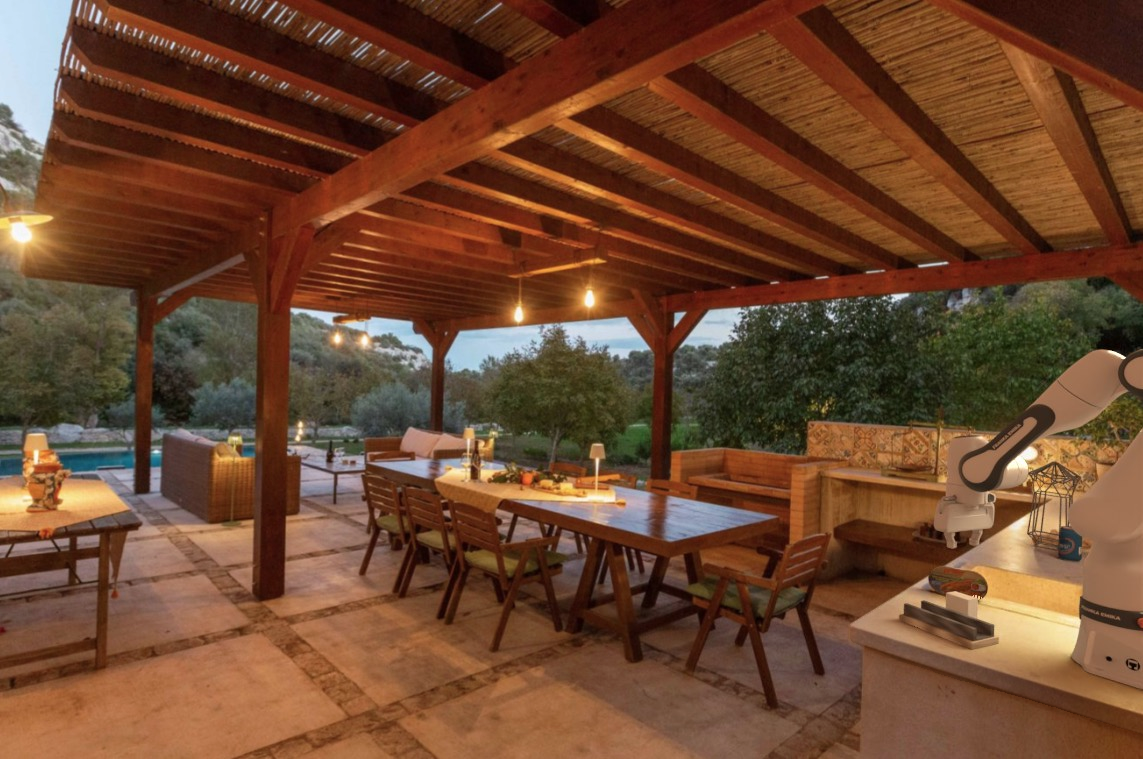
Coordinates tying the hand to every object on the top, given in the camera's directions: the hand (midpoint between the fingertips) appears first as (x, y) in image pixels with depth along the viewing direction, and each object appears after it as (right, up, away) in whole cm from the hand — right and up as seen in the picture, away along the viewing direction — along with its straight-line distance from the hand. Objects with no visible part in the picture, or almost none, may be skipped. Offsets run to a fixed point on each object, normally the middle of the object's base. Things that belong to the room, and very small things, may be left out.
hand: (962, 546), depth 166 cm
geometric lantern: (+90, -24, +85) cm, 126 cm away
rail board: (-11, -18, -11) cm, 24 cm away
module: (-1, -19, 0) cm, 19 cm away
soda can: (+82, -23, +66) cm, 108 cm away
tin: (+10, -20, +18) cm, 28 cm away
